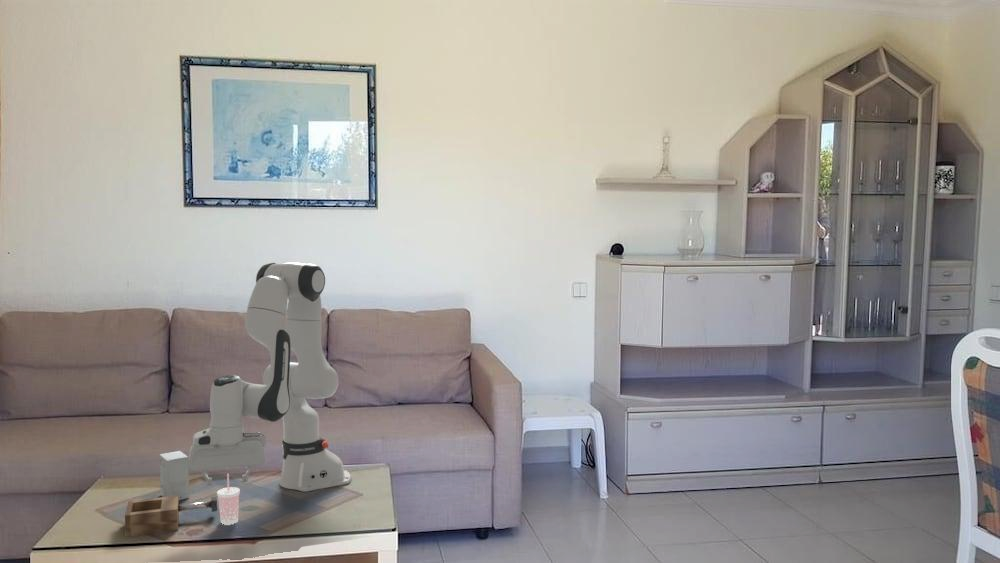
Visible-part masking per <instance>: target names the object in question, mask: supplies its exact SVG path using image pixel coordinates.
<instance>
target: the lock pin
mask: <svg viewBox="0 0 1000 563" xmlns="http://www.w3.org/2000/svg"><path fill="white" fill-rule="evenodd" d="M210 499H211V500H209V501H203V502H201V501H200V502H193V503H185V504H179V505H178V512H179V513H180V512H186V511H193V510H194V511H195V510H202V509H210V508H211V512H213V513H214V512H218V496H217V495H216V496H211V498H210Z"/></svg>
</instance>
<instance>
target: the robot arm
mask: <svg viewBox="0 0 1000 563" xmlns="http://www.w3.org/2000/svg"><path fill="white" fill-rule="evenodd" d="M325 285H326V276H325V273H324V271H323V270H322V268H321V267H320V266H319V265H316V264H313V263H300V262H294V261H293V262H291V261H290V262H279V263H276V262H270V263H266V264H263V265H262V266H261V267H260V268H259V269H258V271H257V273H256V277H255V285H254V288H253V290H252V293H251V295H250V298H249V302H248V306H247V309H246V312H245V316H244V317H245V318H244V328H245V330H246V332H247V334H248V335H249V337H251V339H253V340H254V341H256V342H257V343H259V344H260V345H262V346H264V347H265V348H266V349H267V350H268V351H269V355H270V364H269V365H268V366H267V367H266V368H265V370H264V372H263V376H262V384H259V383H252V382H247V381H245V380H243V379H241V377H240V376H239V375H235V374H227V375H222V376H220V377H217V378H216V379H214V380H213V382H212V383H211V384H212V385H211V386H210V388H211V389H210V392H209V394H210V395H209V396H210V397H209V412H210V416H211V417H210V418H211V419H210V423H209V427H208V428H206V429H204V430H200V431H198V432H195V433H194V435H193V437H192V442H193V443H192V444H191V446H190V448H189V456H188V468H189V471H191V472H198V471H199V472H200V471H201V475H202V476H203V478H204V479H205V481H206V486H212V485H213V477H209V476H208V473H209V472H208V471H209V470H210V471H212V470H221V469H222V470H224V469H232V468H233V469H235V468H246V472H245V473H244V474H241V482H242V483H247V482H248V481H249V480H248V479H249V475H250V474H251V473H252V472H251V471H252V470H253V467H255V466H256V467H258V466H263V465H264V463H265V461H266V459H265V449H264V447H265V446H266V444H267V440H266V435H265V434H263V433H261V432H259V431H257V432H245V431H244V417H247V418H251V419H253V418H254V419H259V420H260V419H261V420H264V421H266V422H267V421H268V422H271V423H272V422H273V423H275V422H277V421H279V420H281V419H282V427H283V430H282V431H283V439H282V443H281V453H282V456H281V457H282V459H283V461H282V468H281V473H280V480H279V482H278V484H279V486H280V487H281V488H284V489H288V490H297V491H300V492H310V491H317V490H322V489H326V488H327V489H329V488H333V487H338V486H343V485H347V484H349V483H350V482H352V481H351V474H350V472H349V471H348V470H346V469H344V464H343V462H342V460H341V458H340V457H339V456H338V455H336V454H335V453H333V452H331V451H330V450H329V449H327V448H329V442H328V441H327V440H325V439H324V438H323V437H322V436H321V437H320V428H319V427H320V418H319V414H318V412H317V411H316V410H315V409H314V408H313V407H311V406H310V404H308V402H307V400H306V399H312V400H320V399H322V400H323V399H328V398H331V397H333V396H334V394H335V393H336V392H337V389H338V387H339V380H340V379H339V374H338V373H337V371H336V370H335V369H334V367H332V366H331V365H330V363H329V362H328V361H327V358H326V356H325V354H324V351H323V347H322V318H323V316H322V312H323V311H322V308H323V307H322V300H321V299H322V298H321V295H322V293H323V291H324V289H325ZM291 351H292V352H294V354H295V356H296V359H297V362H295V361H293V362H292V361H291Z"/></svg>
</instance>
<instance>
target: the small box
mask: <svg viewBox="0 0 1000 563" xmlns="http://www.w3.org/2000/svg"><path fill="white" fill-rule="evenodd" d="M188 464H189V456H188V455H186V454H185V453H184V452H182V451H181V450H177V451H176V450H175V451H172V452H171V451H170V452H166V453H160V454H159V472H160V474H159V475H160V476H159V477H160V496H161V497H169V496H178V499H179V501H182V500H186V499H190V477H189V476H190V472H189V471H190V469H189V468H188Z"/></svg>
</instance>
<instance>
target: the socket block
mask: <svg viewBox="0 0 1000 563" xmlns="http://www.w3.org/2000/svg"><path fill="white" fill-rule="evenodd" d="M179 501H180V500H179V499H178V496H169V497H162V496H161V497H152V498H144V499H136V500H128V501H127V506H126V510H125V513H124V526H125V538H130V537H137V536H145V535H153V534H161V533H162V534H163V533H169V532H177V531H179V521H180V511H179V512H178V505H180V504H179Z"/></svg>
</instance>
